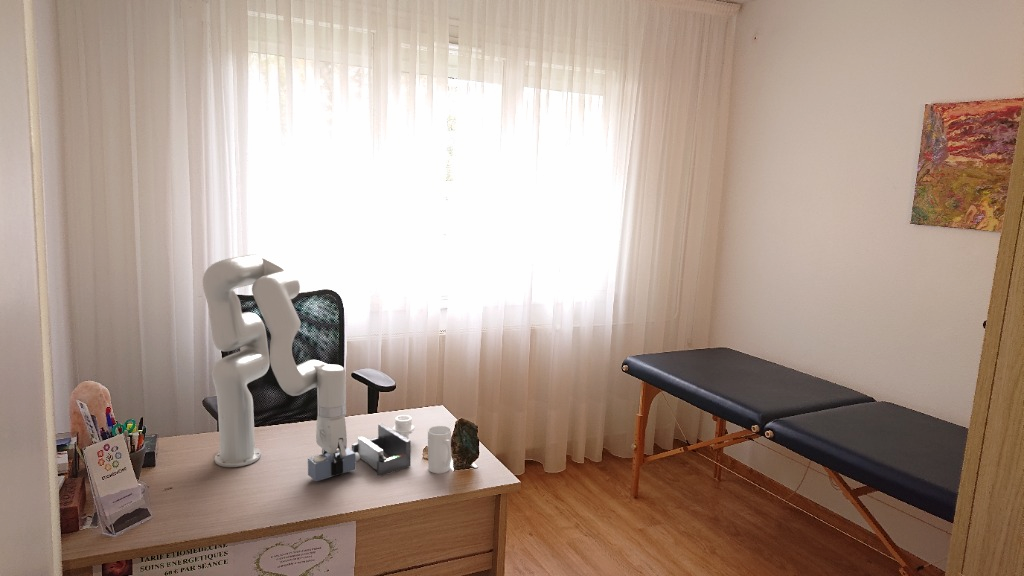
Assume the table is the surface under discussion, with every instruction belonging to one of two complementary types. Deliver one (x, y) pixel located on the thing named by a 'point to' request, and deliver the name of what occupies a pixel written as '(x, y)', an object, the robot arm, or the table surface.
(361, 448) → the anvil plate
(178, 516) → the table surface
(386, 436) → the gauge frame
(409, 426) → the pipe fitting
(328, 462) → the block
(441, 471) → the mug
